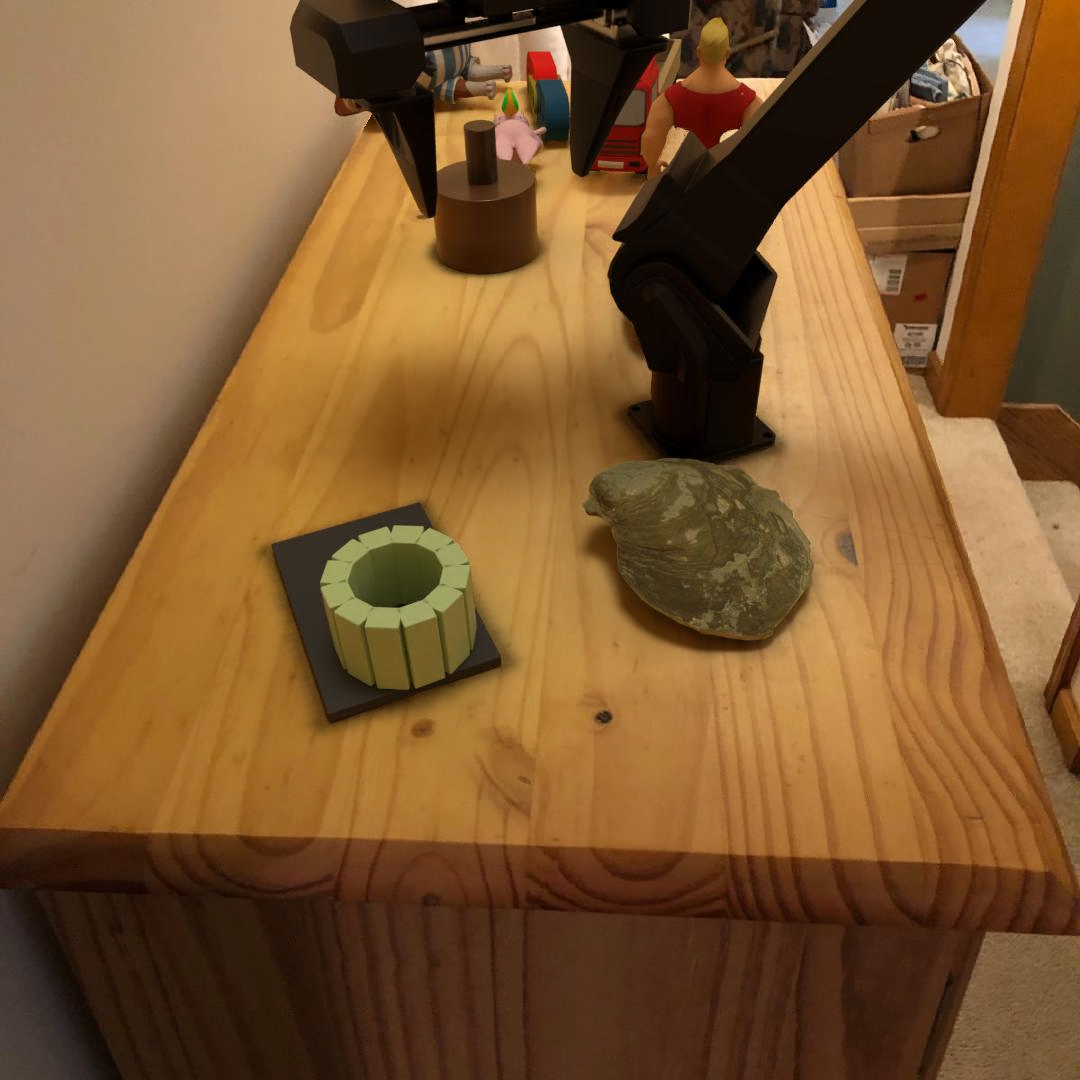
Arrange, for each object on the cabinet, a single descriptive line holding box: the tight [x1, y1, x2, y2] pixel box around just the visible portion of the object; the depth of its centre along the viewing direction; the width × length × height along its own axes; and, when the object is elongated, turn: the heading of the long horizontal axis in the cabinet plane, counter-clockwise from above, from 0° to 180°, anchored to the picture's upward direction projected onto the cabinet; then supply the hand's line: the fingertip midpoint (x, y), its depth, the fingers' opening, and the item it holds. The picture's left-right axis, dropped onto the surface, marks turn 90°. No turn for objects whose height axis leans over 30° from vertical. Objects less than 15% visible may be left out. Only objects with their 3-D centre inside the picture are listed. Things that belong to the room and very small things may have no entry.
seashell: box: [581, 457, 815, 641], centre depth 49 cm, size 10×7×10 cm
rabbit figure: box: [491, 88, 546, 166], centre depth 87 cm, size 6×6×15 cm
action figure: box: [641, 16, 765, 180], centre depth 73 cm, size 10×4×15 cm, turn 80°
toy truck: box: [590, 38, 682, 176], centre depth 87 cm, size 7×21×10 cm, turn 167°
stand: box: [433, 119, 539, 274], centre depth 74 cm, size 8×8×9 cm
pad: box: [271, 501, 502, 723], centre depth 49 cm, size 12×8×1 cm, turn 23°
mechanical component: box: [525, 50, 570, 142], centre depth 96 cm, size 17×4×3 cm
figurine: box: [333, 16, 513, 117], centre depth 99 cm, size 8×18×15 cm
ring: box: [320, 525, 477, 690], centre depth 46 cm, size 6×6×4 cm
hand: (506, 194), depth 53 cm, fingers open, 9 cm apart
